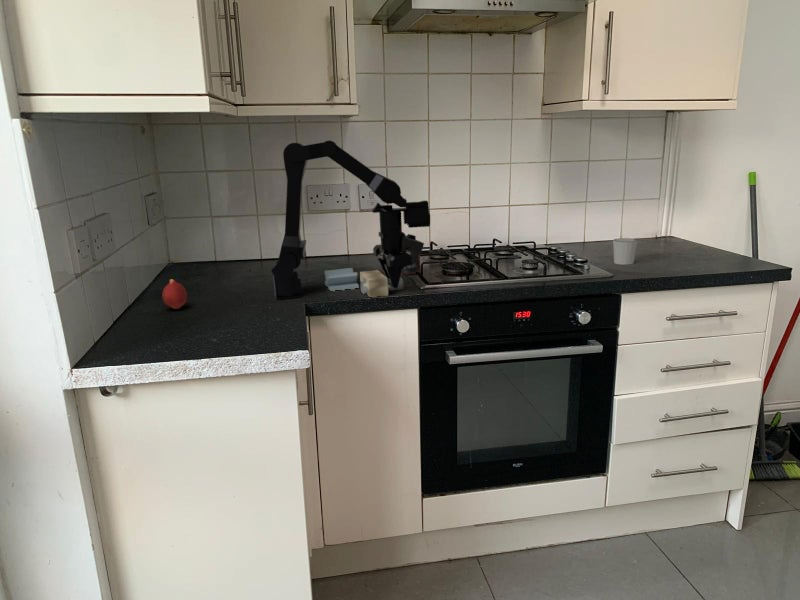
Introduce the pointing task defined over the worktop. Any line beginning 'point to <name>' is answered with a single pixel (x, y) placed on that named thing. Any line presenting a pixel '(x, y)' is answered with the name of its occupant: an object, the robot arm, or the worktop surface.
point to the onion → (174, 295)
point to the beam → (375, 283)
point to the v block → (341, 279)
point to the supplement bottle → (416, 263)
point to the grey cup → (624, 250)
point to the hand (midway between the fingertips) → (393, 286)
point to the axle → (390, 286)
